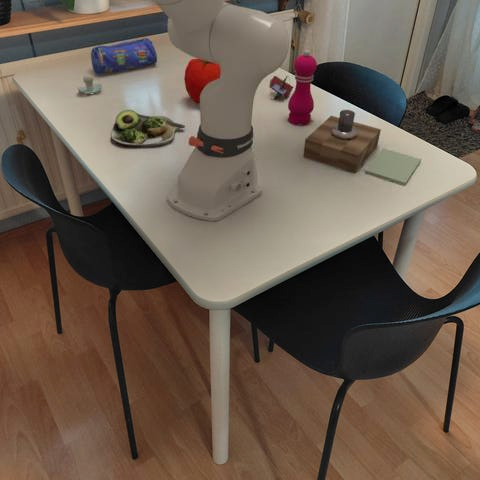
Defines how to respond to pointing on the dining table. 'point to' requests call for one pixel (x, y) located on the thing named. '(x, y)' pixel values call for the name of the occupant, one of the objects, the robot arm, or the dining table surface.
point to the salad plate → (142, 129)
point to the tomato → (199, 77)
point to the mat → (393, 166)
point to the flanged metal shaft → (345, 126)
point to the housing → (341, 146)
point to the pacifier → (89, 86)
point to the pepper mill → (302, 90)
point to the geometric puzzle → (281, 87)
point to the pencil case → (123, 56)
